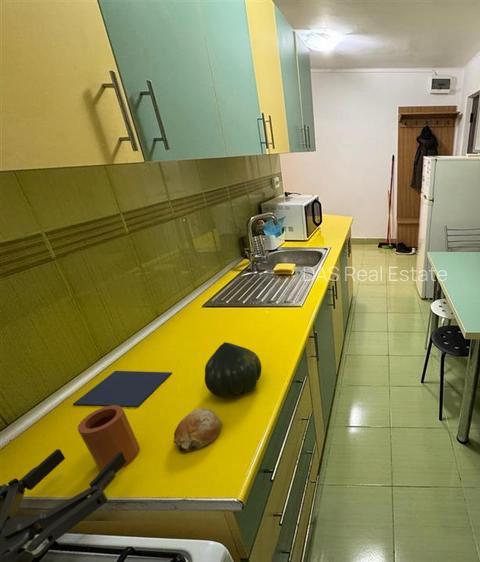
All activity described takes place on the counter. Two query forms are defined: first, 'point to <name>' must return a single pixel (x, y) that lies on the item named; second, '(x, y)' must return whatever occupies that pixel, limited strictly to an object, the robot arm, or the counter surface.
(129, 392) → the cloth
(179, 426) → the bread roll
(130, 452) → the jar
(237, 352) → the squash
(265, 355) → the counter surface
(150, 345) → the counter surface
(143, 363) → the counter surface
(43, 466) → the robot arm
